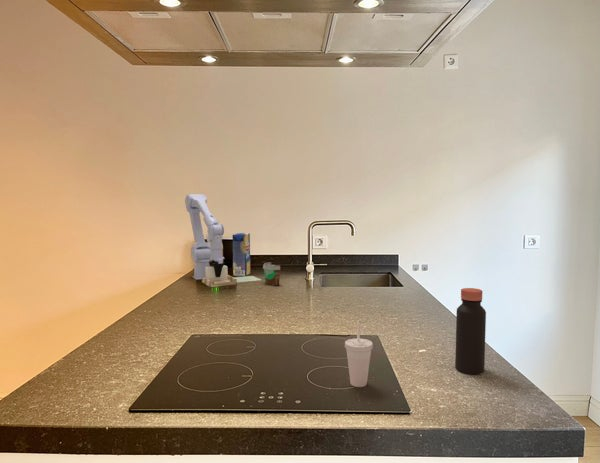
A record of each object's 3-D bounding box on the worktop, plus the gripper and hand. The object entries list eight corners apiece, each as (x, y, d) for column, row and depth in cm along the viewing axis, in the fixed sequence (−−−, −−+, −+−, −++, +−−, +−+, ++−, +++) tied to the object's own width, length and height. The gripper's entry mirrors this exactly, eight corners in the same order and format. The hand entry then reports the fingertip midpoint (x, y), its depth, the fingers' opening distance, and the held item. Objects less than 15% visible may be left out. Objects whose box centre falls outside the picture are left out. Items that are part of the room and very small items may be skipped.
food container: (259, 283, 224) (259, 262, 223) (270, 281, 226) (270, 262, 226) (268, 287, 213) (268, 266, 212) (280, 286, 215) (280, 265, 214)
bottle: (450, 369, 113) (452, 290, 111) (462, 362, 118) (464, 286, 116) (476, 377, 108) (479, 294, 107) (488, 369, 113) (491, 289, 111)
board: (229, 279, 235) (228, 278, 235) (252, 276, 241) (252, 275, 241) (237, 283, 223) (237, 282, 223) (262, 280, 229) (262, 279, 229)
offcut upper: (212, 284, 218) (212, 281, 218) (228, 282, 222) (228, 280, 222) (215, 285, 215) (215, 283, 215) (231, 284, 219) (231, 281, 219)
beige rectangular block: (205, 283, 224) (205, 267, 224) (225, 281, 229) (224, 265, 228) (207, 284, 221) (207, 268, 220) (227, 282, 226) (227, 266, 225)
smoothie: (369, 377, 108) (370, 319, 107) (375, 389, 102) (375, 327, 101) (342, 378, 108) (343, 320, 107) (346, 389, 102) (346, 328, 101)
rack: (201, 282, 225) (201, 276, 225) (227, 280, 231) (227, 274, 231) (209, 287, 213) (209, 281, 212) (236, 285, 219) (236, 279, 218)
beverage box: (250, 272, 253) (249, 233, 251) (245, 276, 242) (245, 235, 240) (238, 272, 254) (237, 233, 252) (233, 276, 243) (232, 235, 241)
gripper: (228, 249, 219) (229, 277, 220) (219, 246, 232) (219, 273, 233) (214, 250, 216) (214, 279, 217) (205, 247, 229) (206, 274, 230)
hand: (216, 276), depth 225 cm, fingers closed on beige rectangular block, 4 cm apart
